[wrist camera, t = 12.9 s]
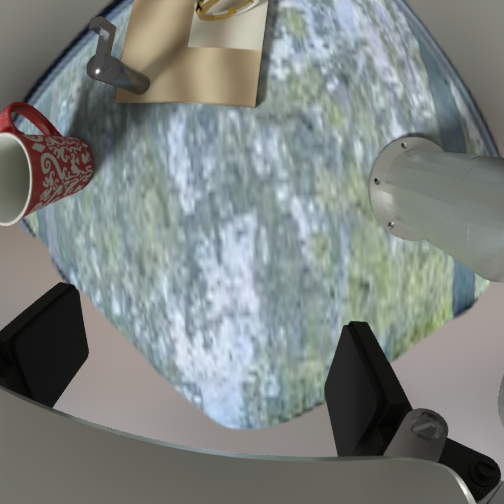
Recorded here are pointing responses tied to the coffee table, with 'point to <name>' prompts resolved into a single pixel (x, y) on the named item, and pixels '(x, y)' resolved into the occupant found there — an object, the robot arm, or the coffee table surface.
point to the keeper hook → (113, 62)
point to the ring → (230, 12)
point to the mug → (38, 165)
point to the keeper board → (194, 53)
